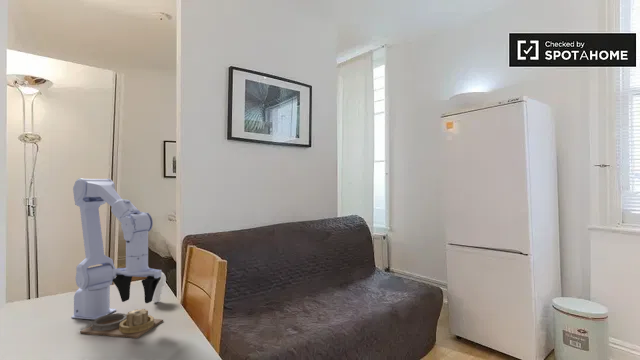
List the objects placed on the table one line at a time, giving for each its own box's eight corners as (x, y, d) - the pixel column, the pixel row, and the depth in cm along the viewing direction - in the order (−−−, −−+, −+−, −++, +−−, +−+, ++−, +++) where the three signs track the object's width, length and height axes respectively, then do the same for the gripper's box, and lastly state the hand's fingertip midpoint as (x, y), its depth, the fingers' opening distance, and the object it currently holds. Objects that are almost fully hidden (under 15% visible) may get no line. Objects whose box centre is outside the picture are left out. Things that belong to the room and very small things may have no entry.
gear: (122, 329, 93) (122, 315, 93) (135, 321, 98) (135, 308, 98) (138, 330, 92) (138, 316, 92) (151, 322, 97) (151, 309, 98)
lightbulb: (158, 306, 113) (158, 274, 113) (142, 304, 114) (142, 273, 114) (169, 299, 119) (169, 269, 119) (154, 298, 120) (154, 268, 120)
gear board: (80, 333, 92) (80, 326, 92) (111, 317, 103) (111, 311, 103) (137, 338, 89) (137, 330, 89) (163, 321, 100) (163, 314, 100)
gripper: (168, 252, 98) (168, 297, 98) (125, 251, 101) (125, 295, 100) (152, 257, 91) (152, 306, 91) (107, 256, 94) (106, 303, 94)
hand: (137, 301), depth 95 cm, fingers open, 7 cm apart
